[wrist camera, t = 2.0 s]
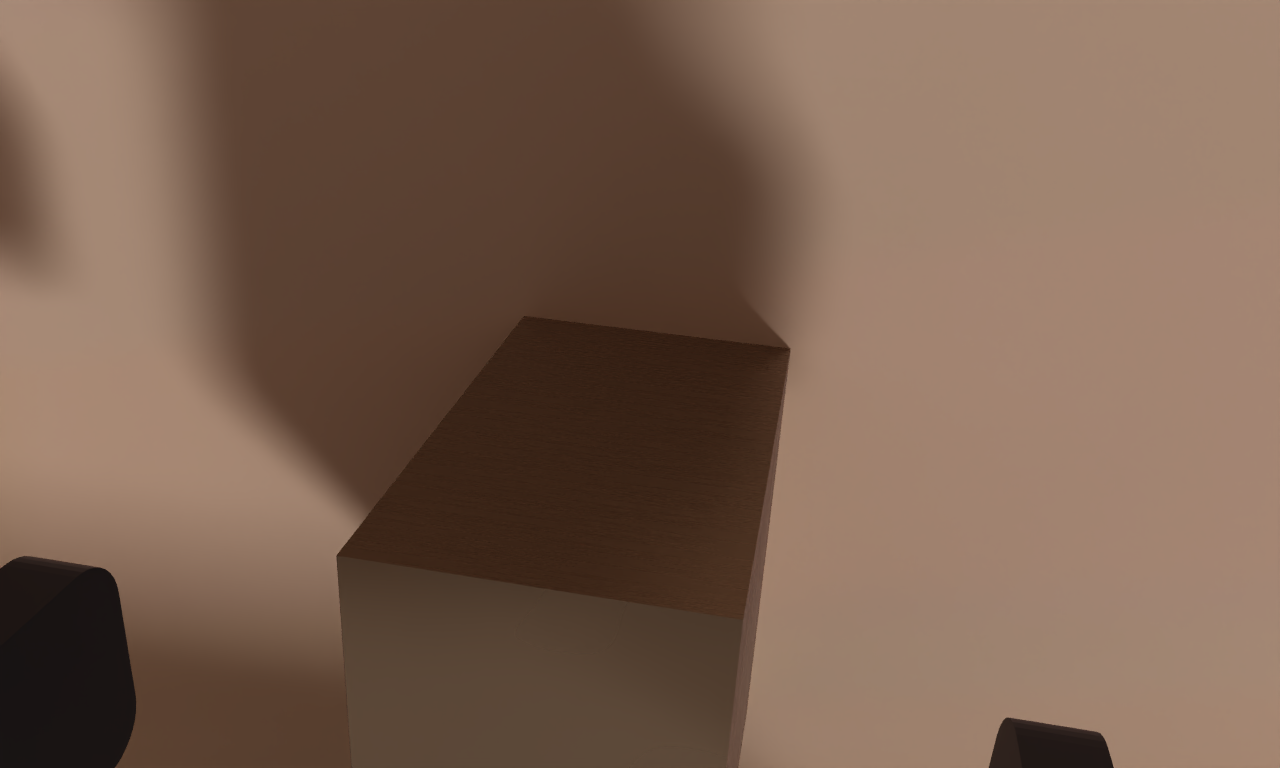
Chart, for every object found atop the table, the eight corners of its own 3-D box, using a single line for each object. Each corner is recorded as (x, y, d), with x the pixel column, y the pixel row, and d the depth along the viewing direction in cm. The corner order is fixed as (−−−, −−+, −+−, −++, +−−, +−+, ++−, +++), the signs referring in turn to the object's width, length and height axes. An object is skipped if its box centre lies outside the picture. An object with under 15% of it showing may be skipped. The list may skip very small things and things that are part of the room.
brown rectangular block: (790, 347, 12) (743, 619, 8) (747, 706, 14) (690, 1081, 10) (524, 314, 13) (337, 555, 8) (521, 667, 15) (368, 1011, 10)
